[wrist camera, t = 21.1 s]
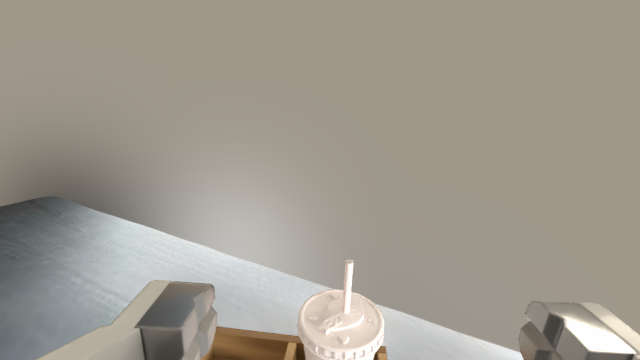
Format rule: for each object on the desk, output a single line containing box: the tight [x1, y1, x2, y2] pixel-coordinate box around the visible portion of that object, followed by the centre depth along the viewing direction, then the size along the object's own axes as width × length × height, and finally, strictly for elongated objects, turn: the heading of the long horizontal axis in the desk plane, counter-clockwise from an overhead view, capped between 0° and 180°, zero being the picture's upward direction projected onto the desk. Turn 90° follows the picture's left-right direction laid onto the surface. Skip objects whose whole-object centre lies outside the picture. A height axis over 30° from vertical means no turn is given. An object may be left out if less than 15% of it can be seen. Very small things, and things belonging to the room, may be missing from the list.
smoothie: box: [297, 260, 384, 360], centre depth 23 cm, size 6×6×14 cm
